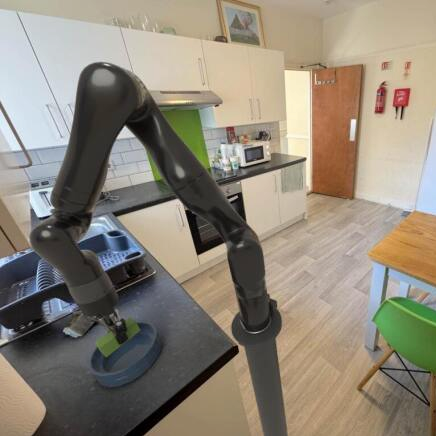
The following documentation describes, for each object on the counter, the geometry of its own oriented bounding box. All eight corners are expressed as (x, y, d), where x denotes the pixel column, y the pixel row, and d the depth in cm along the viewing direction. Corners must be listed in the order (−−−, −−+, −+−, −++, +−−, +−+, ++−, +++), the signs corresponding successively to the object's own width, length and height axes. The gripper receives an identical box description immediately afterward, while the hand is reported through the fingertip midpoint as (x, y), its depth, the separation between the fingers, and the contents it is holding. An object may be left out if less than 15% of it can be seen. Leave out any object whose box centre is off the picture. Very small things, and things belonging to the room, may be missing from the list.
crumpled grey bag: (54, 333, 79) (50, 326, 71) (73, 312, 83) (71, 304, 75) (84, 344, 81) (83, 340, 73) (100, 324, 86) (101, 317, 78)
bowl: (143, 325, 79) (137, 314, 76) (173, 347, 71) (168, 335, 69) (86, 369, 66) (77, 356, 64) (115, 401, 59) (106, 388, 56)
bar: (135, 326, 70) (129, 316, 68) (140, 330, 68) (135, 320, 66) (101, 352, 63) (94, 342, 61) (106, 357, 61) (99, 347, 60)
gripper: (125, 291, 57) (148, 339, 65) (97, 273, 64) (121, 319, 71) (89, 313, 51) (118, 363, 59) (63, 291, 58) (92, 338, 66)
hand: (120, 338), depth 65 cm, fingers closed on bar, 3 cm apart
